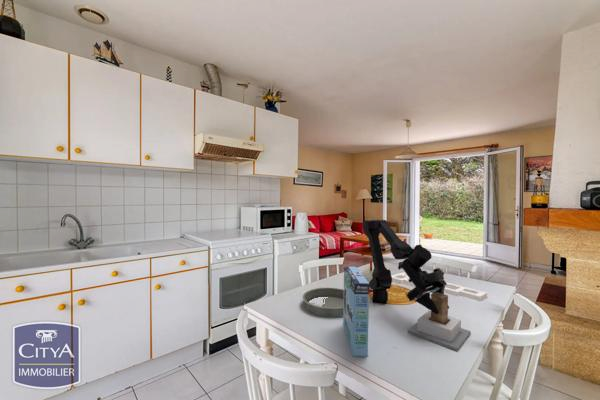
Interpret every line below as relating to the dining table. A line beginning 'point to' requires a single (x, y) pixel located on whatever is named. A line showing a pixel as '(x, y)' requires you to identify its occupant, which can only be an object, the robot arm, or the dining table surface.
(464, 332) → the socket board
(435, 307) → the robot arm
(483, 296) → the holder
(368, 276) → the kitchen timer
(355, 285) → the gum box
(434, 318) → the walnut peg
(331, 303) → the cake pan
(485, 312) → the dining table surface
